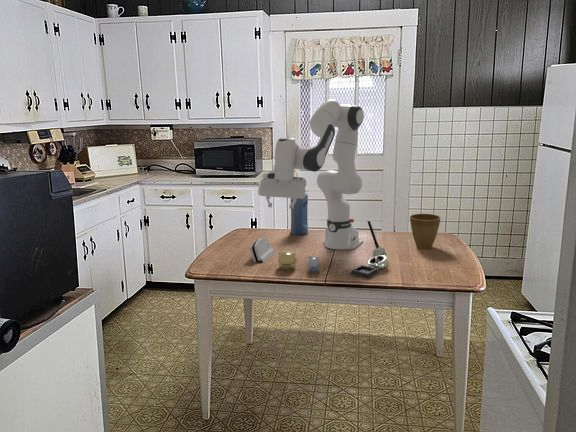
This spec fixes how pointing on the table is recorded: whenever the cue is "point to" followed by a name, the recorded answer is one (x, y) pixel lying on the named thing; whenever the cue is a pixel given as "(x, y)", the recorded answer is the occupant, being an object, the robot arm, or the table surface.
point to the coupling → (313, 264)
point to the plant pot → (424, 229)
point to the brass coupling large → (287, 260)
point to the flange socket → (364, 271)
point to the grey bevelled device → (261, 250)
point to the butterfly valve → (377, 253)
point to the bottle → (299, 216)
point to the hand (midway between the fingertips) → (280, 207)
